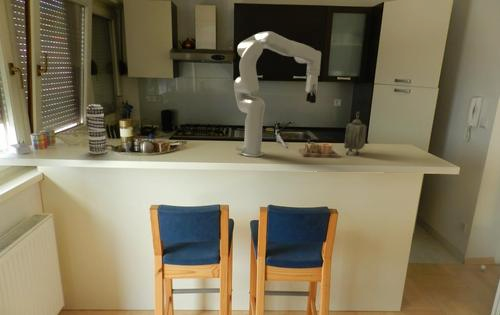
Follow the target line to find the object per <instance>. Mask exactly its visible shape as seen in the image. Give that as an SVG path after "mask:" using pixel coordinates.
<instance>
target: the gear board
mask: <svg viewBox="0 0 500 315" xmlns="http://www.w3.org/2000/svg"><path fill="white" fill-rule="evenodd" d="M319 144H320V143H316V142H313V141H312V142H311V139H307V142H306V143H305V147H304V148H298V153H299V154H300V155H301V156H302V158H333V159H334V158H335V159H339V158H340V154H338V153H337V152H336V151H335V150H333V149H332V152H331V153H328V154H326V153H321V152H318V151H319Z"/></svg>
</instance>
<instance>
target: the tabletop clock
mask: <svg viewBox="0 0 500 315" xmlns="http://www.w3.org/2000/svg"><path fill="white" fill-rule="evenodd" d="M359 117H360V111H356V114H355V119H354V120H352V122H349V123H348V124H347V125H346V127H345V136H344V144H343V145H344V148H345V149H348V151H346V152H345V156H348V155H349V154H350V153H349V152H353V150H355V151H356V153H355V154H356V155H359V154H360V153H359V151H358V150H361V149H363V148H364V147H365V144H366V136H367V130H368V129H367V128H368V126H367V125H366V124H364V123H362V121H361V120H360V119H359Z"/></svg>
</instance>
